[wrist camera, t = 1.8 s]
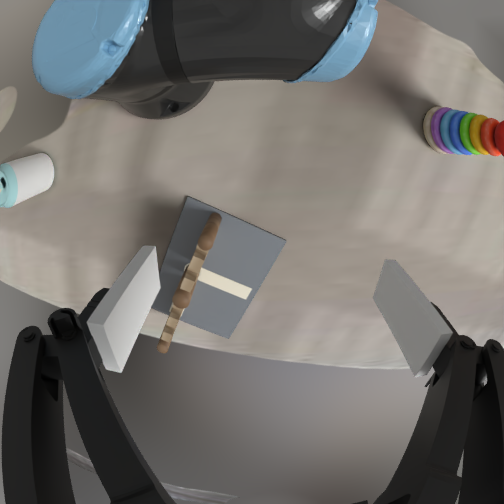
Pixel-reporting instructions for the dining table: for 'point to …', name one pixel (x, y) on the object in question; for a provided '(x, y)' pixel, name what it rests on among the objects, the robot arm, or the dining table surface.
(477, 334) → the dining table surface
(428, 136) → the stacking toy
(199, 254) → the hinged fence panel
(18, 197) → the can
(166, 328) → the fixed fence section
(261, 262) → the card
